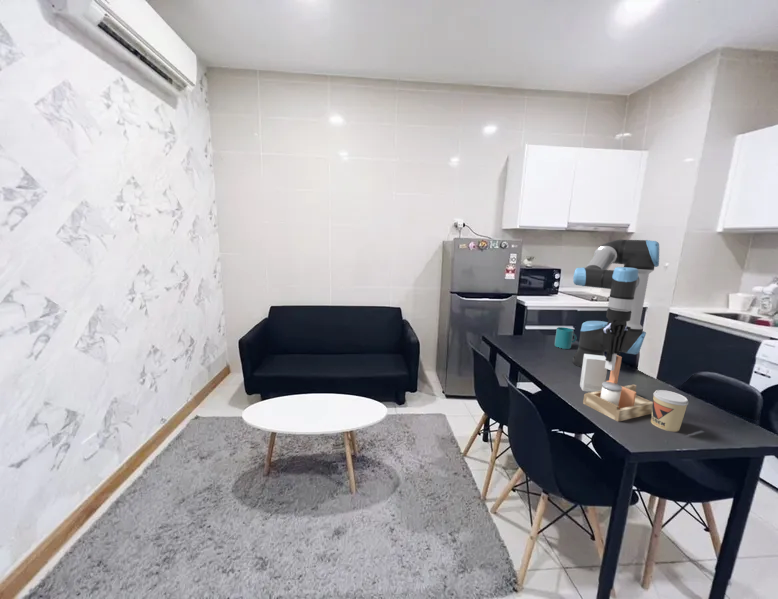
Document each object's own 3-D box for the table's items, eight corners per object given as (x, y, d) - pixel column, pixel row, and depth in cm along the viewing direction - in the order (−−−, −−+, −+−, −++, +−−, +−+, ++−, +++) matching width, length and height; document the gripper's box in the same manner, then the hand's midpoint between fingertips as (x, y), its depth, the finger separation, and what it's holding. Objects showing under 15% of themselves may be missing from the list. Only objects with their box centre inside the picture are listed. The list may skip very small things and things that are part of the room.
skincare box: (600, 389, 147) (605, 355, 144) (604, 396, 141) (610, 360, 138) (578, 386, 150) (583, 352, 147) (581, 392, 144) (586, 357, 141)
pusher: (608, 399, 136) (616, 354, 132) (636, 413, 126) (646, 364, 122) (602, 400, 134) (610, 355, 131) (630, 414, 124) (639, 365, 121)
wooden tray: (631, 394, 143) (633, 382, 142) (668, 410, 131) (671, 397, 129) (582, 405, 133) (584, 391, 131) (617, 423, 120) (620, 408, 119)
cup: (578, 350, 201) (581, 331, 199) (558, 349, 201) (561, 330, 199) (571, 345, 210) (573, 327, 207) (551, 344, 210) (554, 326, 208)
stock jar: (605, 404, 132) (609, 380, 130) (621, 412, 126) (626, 387, 124) (594, 407, 129) (598, 382, 128) (610, 415, 124) (614, 389, 122)
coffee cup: (641, 420, 123) (647, 389, 121) (664, 420, 124) (671, 389, 121) (663, 435, 114) (670, 402, 111) (689, 434, 114) (696, 402, 112)
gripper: (621, 306, 131) (611, 363, 136) (597, 307, 127) (588, 367, 131) (641, 310, 124) (630, 370, 129) (617, 312, 120) (606, 374, 124)
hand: (609, 369), depth 130 cm, fingers closed
